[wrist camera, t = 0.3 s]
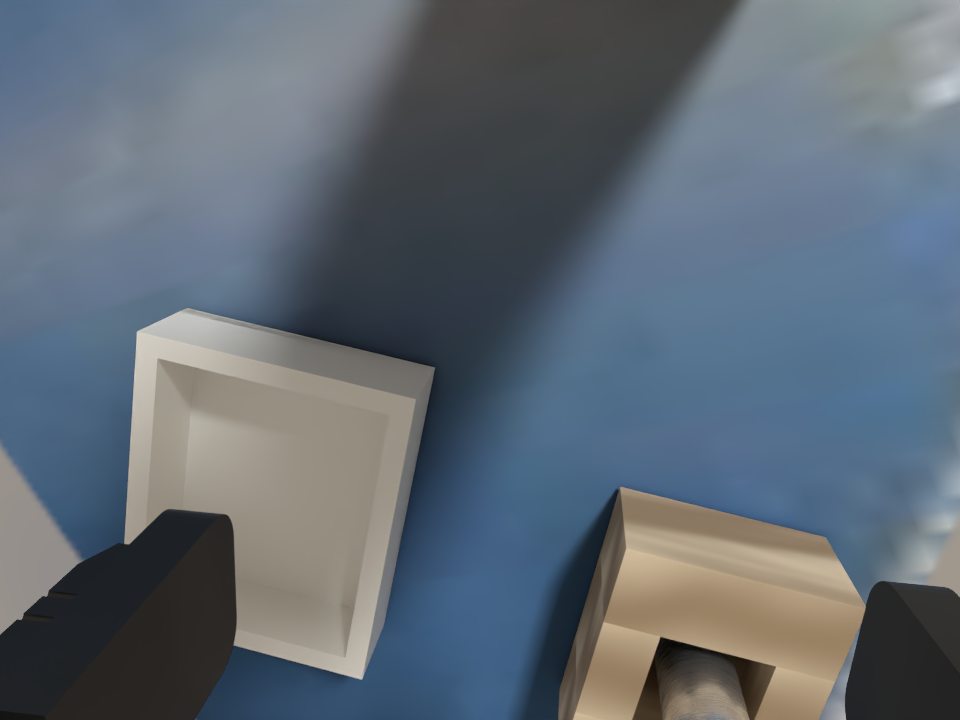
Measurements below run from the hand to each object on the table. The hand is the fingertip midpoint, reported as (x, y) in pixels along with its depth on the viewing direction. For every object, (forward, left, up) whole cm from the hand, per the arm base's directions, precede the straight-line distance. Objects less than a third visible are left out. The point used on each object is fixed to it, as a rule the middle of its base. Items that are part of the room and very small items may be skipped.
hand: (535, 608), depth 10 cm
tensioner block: (+12, +8, -19) cm, 24 cm away
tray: (+10, -9, -19) cm, 23 cm away
